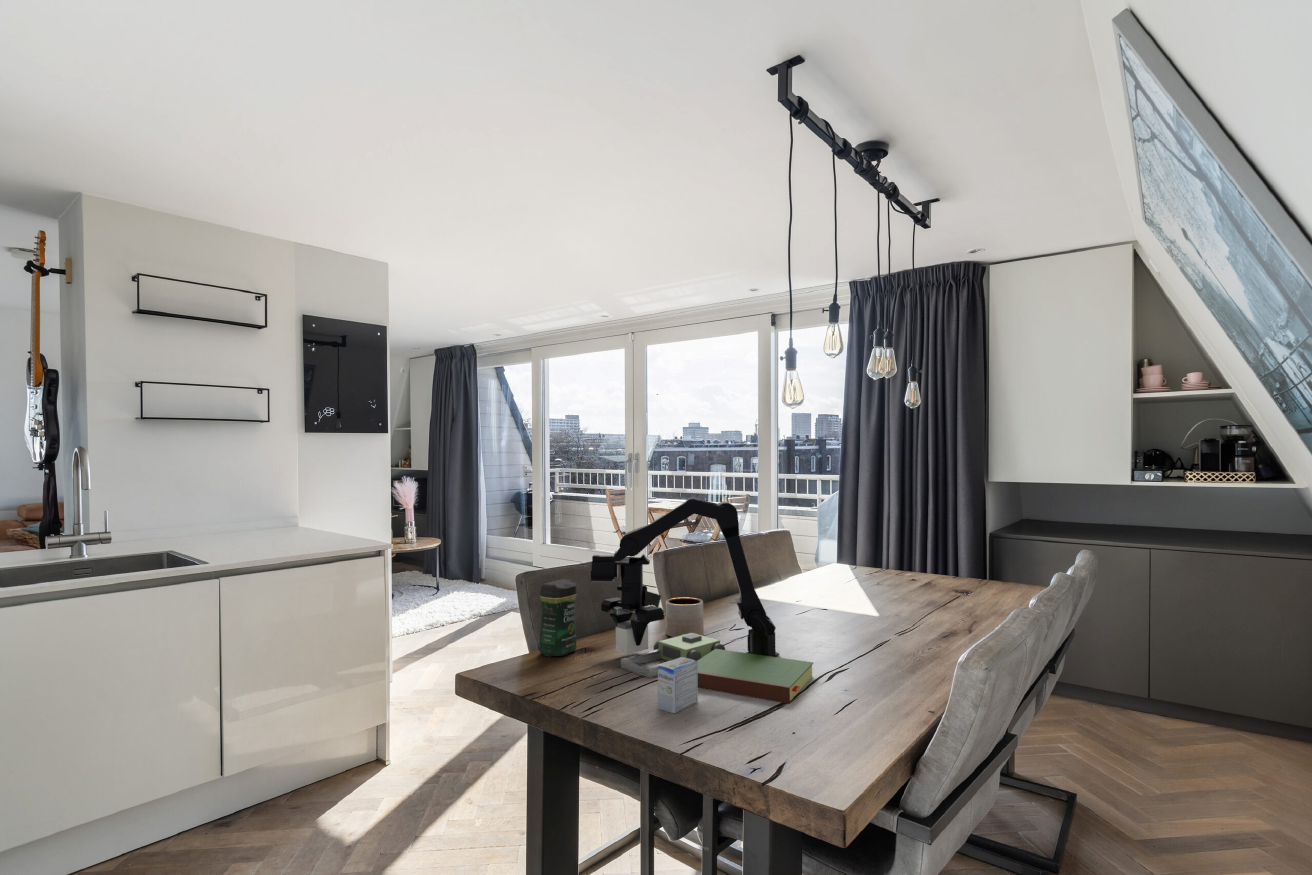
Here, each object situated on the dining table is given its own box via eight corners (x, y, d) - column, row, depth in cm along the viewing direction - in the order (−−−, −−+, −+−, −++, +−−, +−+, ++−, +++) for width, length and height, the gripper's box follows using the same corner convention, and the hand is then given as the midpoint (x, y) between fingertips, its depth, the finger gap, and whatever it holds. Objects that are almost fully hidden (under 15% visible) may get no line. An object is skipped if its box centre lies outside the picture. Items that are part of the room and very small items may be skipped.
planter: (660, 638, 184) (660, 603, 185) (671, 628, 195) (671, 595, 195) (698, 641, 181) (698, 606, 182) (707, 631, 192) (707, 598, 192)
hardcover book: (682, 687, 146) (682, 670, 146) (715, 664, 163) (715, 648, 163) (793, 706, 134) (792, 688, 134) (816, 679, 151) (816, 662, 151)
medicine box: (681, 697, 138) (680, 656, 139) (698, 702, 135) (698, 660, 136) (657, 709, 132) (657, 665, 132) (674, 714, 129) (674, 669, 130)
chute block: (648, 648, 169) (648, 621, 169) (627, 654, 164) (626, 625, 164) (636, 645, 172) (636, 618, 172) (615, 650, 167) (615, 622, 168)
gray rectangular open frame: (686, 666, 159) (686, 658, 159) (649, 677, 151) (649, 668, 151) (657, 657, 167) (657, 649, 167) (620, 667, 159) (620, 658, 159)
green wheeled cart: (725, 657, 166) (725, 637, 166) (690, 668, 158) (689, 647, 158) (687, 646, 176) (687, 627, 176) (652, 656, 168) (652, 636, 168)
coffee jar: (558, 659, 165) (558, 584, 166) (534, 654, 169) (534, 582, 170) (582, 649, 174) (582, 578, 174) (558, 645, 178) (558, 576, 178)
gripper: (679, 582, 167) (680, 644, 167) (632, 573, 181) (632, 630, 180) (646, 588, 160) (647, 653, 159) (599, 578, 173) (600, 638, 173)
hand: (632, 643), depth 168 cm, fingers closed on chute block, 4 cm apart
